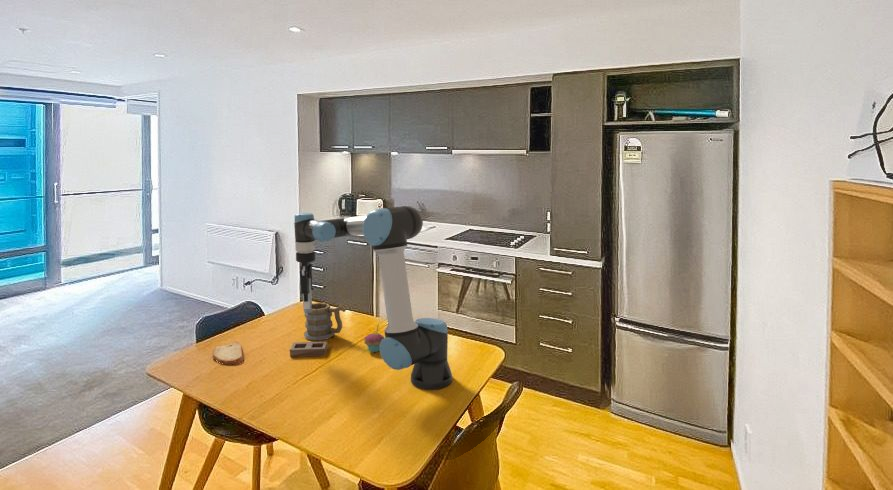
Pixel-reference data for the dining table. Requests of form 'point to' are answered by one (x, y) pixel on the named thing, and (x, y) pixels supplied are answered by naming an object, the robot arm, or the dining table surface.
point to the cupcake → (373, 341)
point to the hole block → (308, 349)
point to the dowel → (310, 299)
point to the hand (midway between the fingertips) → (307, 306)
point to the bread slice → (229, 353)
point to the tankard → (322, 322)
